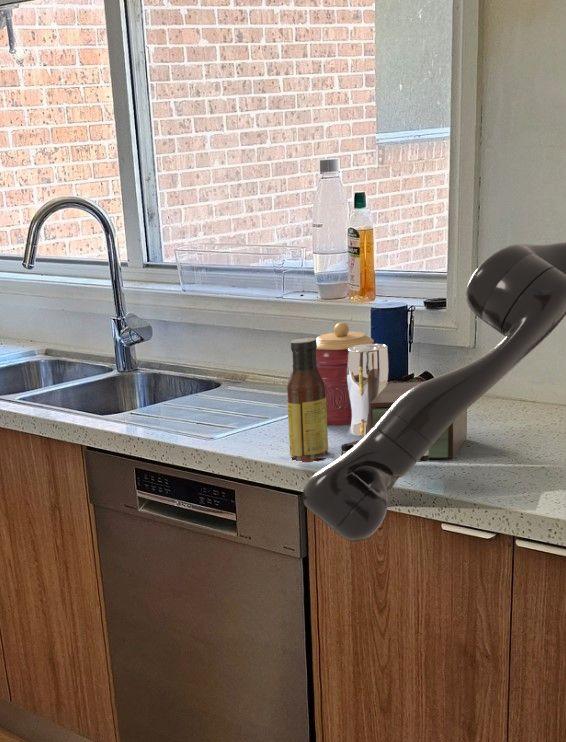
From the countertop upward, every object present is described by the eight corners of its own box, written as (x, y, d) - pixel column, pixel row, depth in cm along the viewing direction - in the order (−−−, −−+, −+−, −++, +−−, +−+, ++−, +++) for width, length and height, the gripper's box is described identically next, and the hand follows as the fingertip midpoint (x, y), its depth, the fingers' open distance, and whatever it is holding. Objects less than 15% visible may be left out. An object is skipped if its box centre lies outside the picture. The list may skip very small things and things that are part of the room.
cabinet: (452, 460, 191) (453, 399, 187) (371, 462, 197) (370, 402, 193) (466, 437, 203) (467, 379, 199) (389, 439, 208) (388, 383, 204)
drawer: (446, 459, 189) (446, 409, 186) (372, 460, 194) (370, 412, 191) (461, 435, 201) (461, 388, 198) (390, 437, 206) (389, 391, 203)
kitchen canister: (298, 416, 231) (297, 321, 224) (367, 409, 231) (368, 314, 224) (313, 431, 220) (312, 331, 212) (385, 424, 219) (387, 323, 212)
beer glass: (385, 438, 209) (387, 349, 203) (344, 439, 211) (344, 351, 205) (388, 429, 215) (390, 342, 209) (348, 430, 217) (348, 344, 211)
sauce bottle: (333, 457, 203) (332, 335, 195) (321, 467, 198) (320, 343, 190) (295, 456, 207) (293, 336, 198) (282, 465, 202) (280, 343, 194)
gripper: (421, 440, 163) (442, 410, 177) (323, 442, 169) (351, 413, 183) (421, 494, 166) (442, 461, 180) (325, 494, 172) (352, 462, 186)
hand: (396, 437), depth 182 cm, fingers closed
